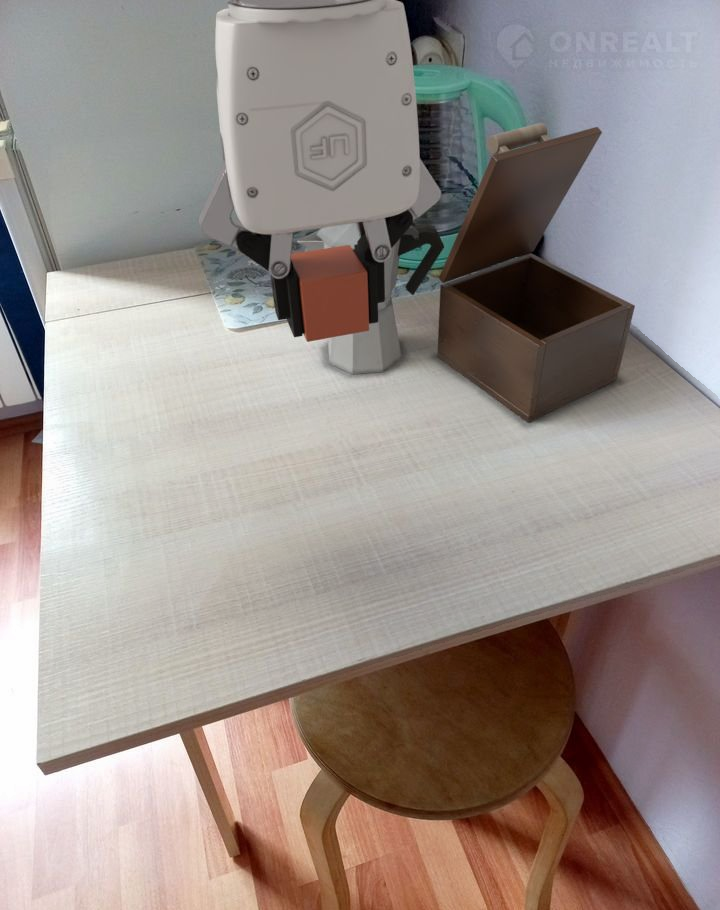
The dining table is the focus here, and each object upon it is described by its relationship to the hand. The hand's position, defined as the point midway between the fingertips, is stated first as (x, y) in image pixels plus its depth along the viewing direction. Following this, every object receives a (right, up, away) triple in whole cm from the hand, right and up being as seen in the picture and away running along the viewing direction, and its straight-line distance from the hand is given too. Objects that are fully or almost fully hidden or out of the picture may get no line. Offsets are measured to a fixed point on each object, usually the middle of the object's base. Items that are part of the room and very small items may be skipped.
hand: (330, 317), depth 45 cm
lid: (+17, +15, +24) cm, 33 cm away
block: (0, 0, 0) cm, 0 cm away
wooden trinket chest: (+20, +1, +32) cm, 38 cm away
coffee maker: (+3, +3, +36) cm, 36 cm away
